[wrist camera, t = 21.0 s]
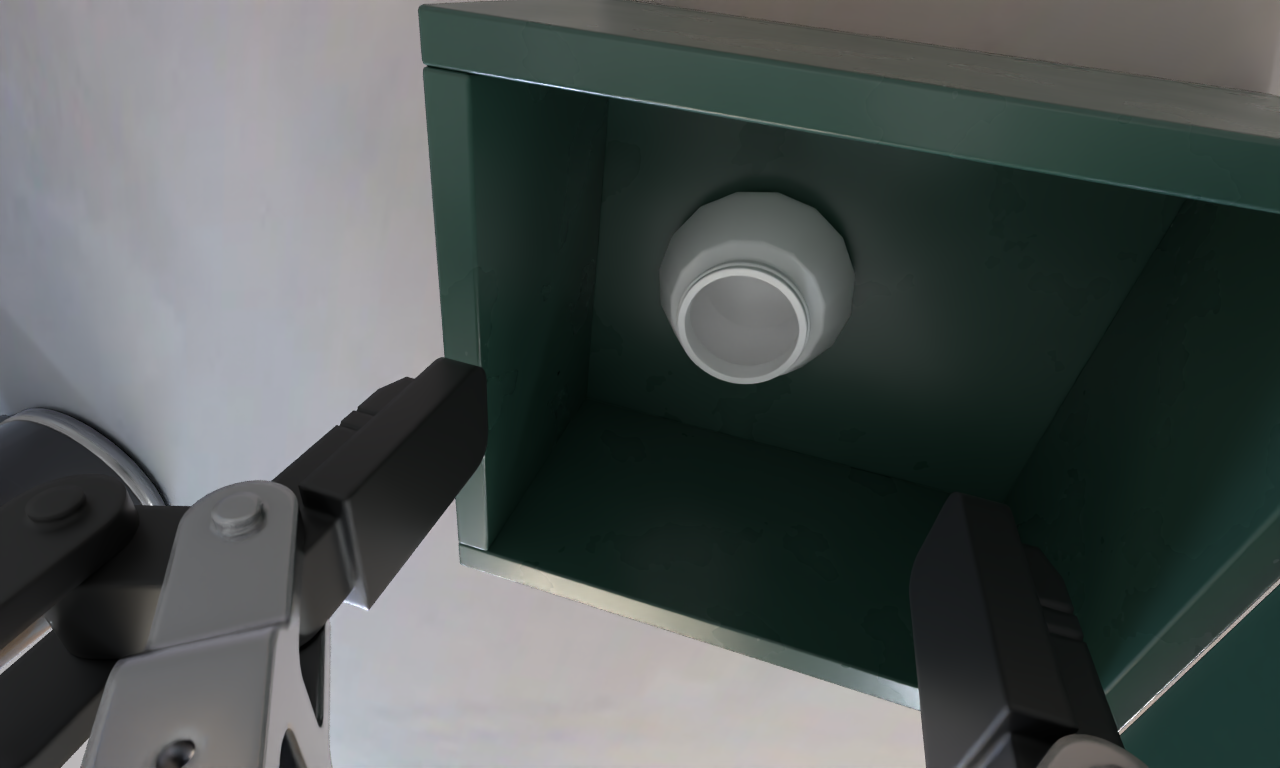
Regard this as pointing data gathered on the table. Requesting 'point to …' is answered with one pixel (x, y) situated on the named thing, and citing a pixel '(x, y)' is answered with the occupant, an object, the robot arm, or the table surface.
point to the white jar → (756, 286)
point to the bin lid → (1220, 703)
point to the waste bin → (860, 330)
